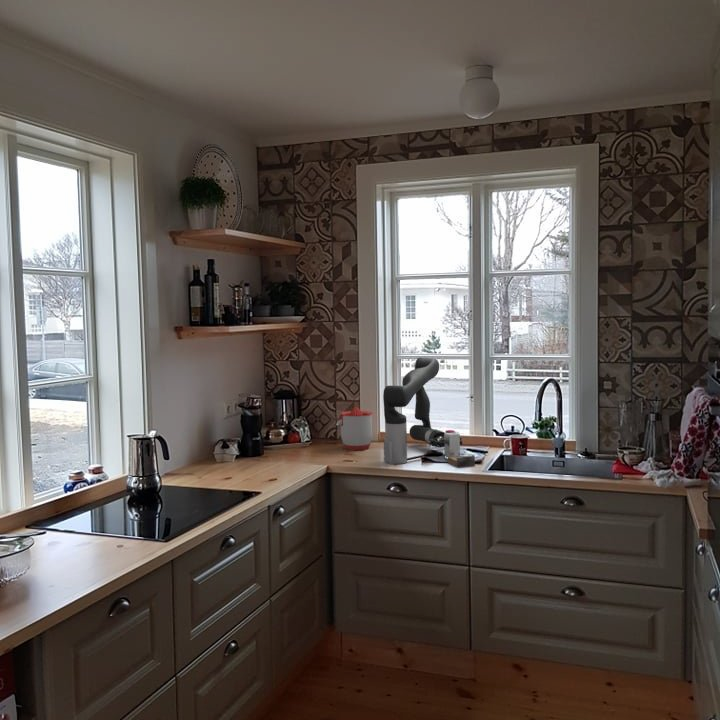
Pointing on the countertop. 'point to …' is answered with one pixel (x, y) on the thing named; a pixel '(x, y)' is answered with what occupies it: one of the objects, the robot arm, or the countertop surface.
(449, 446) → the aluminium block
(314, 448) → the countertop surface
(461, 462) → the walnut cradle
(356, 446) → the citrus juicer
